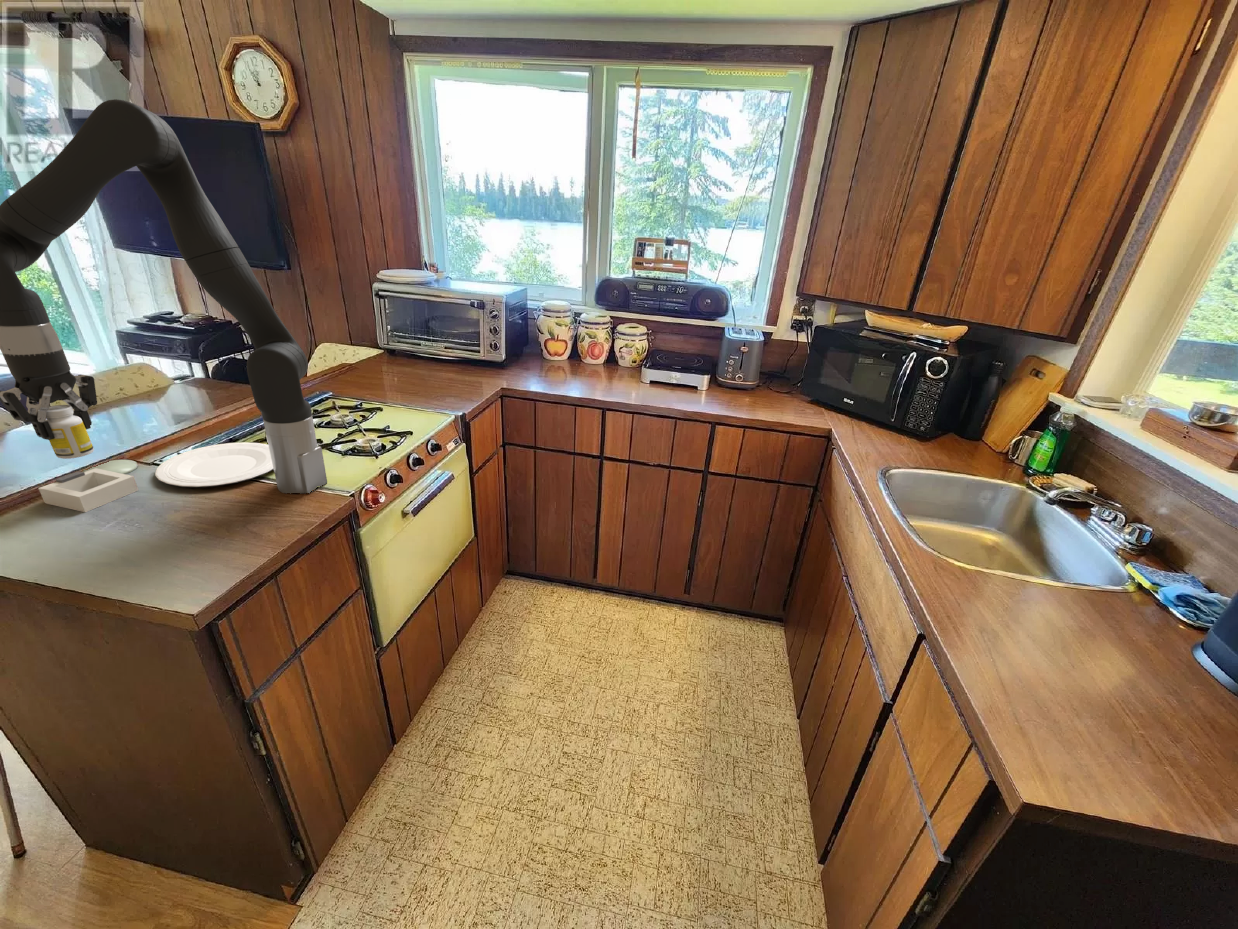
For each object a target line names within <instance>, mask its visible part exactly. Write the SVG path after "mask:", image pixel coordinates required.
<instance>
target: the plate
mask: <svg viewBox="0 0 1238 929" xmlns="http://www.w3.org/2000/svg"><path fill="white" fill-rule="evenodd" d="M271 471H274V469H273V464H272V459H271V455H270V450H269V445H268V444H265V443H260V442H244V441H243V442H227V443H219V444H213V445H207V446H203V447H197V448H195V449H191V450H188V451H185V452H184V451H183V452H182V453H180V454H179V453H178V454H177V455H174V456H172V457H170V458H167V459H166V460H165V461H163V462H162V463H161V464H159V466H157V467H156V469H155V474H154V475H155V477H156V479H157V480H158V481H160V483H161V482H162V483H164V484H166V485H170V486H175V487H181V488H210V487H220V486H227V485H232V484H237V483H241V482H245V481H249V480H252V479H255V478H259V477H261V476H264V475H266V474H268V473H269V472H271Z"/></svg>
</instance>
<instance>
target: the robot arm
mask: <svg viewBox="0 0 1238 929" xmlns="http://www.w3.org/2000/svg"><path fill="white" fill-rule="evenodd" d="M134 167H137V169H138V170H139V172H140V173H141V174H142V176H143V177H144V178H145V179H146V181H147V182H148V184H149V185H150V186H151V188H152V190H153V191H154V193H155V194H156V196H157V197H158V199H159V201H160V203H161V204H162V207H163V209H164V211H165V214H166V217H167V220H168V224H169V227H170V229H171V233H172V236H173V240H174V241H175V244H176V247H177V249H178V251H179V253H180V255H181V258H182V259H183V260H184V262H185V263H186V264H187V266H188V268H189V270H190V271H191V272H192V274H193V276H194V277H195V279H196V280H197V281H198V283H199V285H200V286H201V287H202V288H203V289H204V290H205V292H206V293H207V294H208V295H209V296H210V297H211V298H212V299H213V300H214V301H216V302H217V304H219V305H220V306H221V307H222V308H223V309H225V310H226V311H227V312H228V313H229V314H230V315H231V316H233V317H234V319H235V320H237V322H238V323H239V324H240V325H241V327H242V328H243V330H244V331H245V332H246V334H247V336H248V337H249V339H250V341H251V343H252V345H253V346H254V349H255V350H254V351H252V352H251V353H250V354H249V356H248V358H247V361H246V371H247V372H246V373H247V377H248V381H249V386H250V389H251V393H252V397H253V401H254V403H255V405H256V408H257V409H258V410H259V412H260V414H261V417H262V421H263V426H264V431H265V435H266V440H267V443H268V444H267V445H269V450H270V455H271V459H272V464H273V473H274V477H275V481H276V482H275V483H276V486H277V490H278V491H279V492H281V493H283V494H287V493H290V495H292V494H291V493H300V494H306V493H309V494H311V493H312V492H313V491H312V490H314V489H315V488H316V487H317V486H321V487H323V486H324V485H326V484H327V483H328V479H327V478H328V477H327V472H326V466H325V460H324V455H323V449H322V446H319V445H318V442H317V435H316V430H315V424H314V418H313V413H312V406H311V404H310V402H309V401H307V400H305V397H304V394H303V391H302V386H301V379H302V378H304V376H305V375H306V374H307V371H308V368H309V367H308V366H309V365H308V363H309V362H308V358H307V355H306V354H305V352H304V350H303V349H302V348H301V346H300V345H299V343H298V342H297V340H296V339H295V338H294V337H293V335H292V334H291V332H290V331H289V329H288V328H287V327H286V325H285V324H284V322H283V321H282V319H281V318H280V317H279V316H278V313H277V312H276V311H275V309H274V307H273V305H272V303H271V301H270V299H269V298H268V296H267V295H266V292H265V290H264V289H263V288H262V285H261V283H260V282H259V280H258V279H257V277H256V276H255V274H254V270H253V269H252V267H251V266H250V264H249V263H248V261H247V259H246V257H245V255H244V253H243V252H242V250H241V248H240V247H239V245H238V244H237V242H236V241H235V239H234V237H233V236H232V233H230V231H229V229H228V228H227V227H226V226H227V225H226V224H225V223H224V222H223V220H222V218H221V217H220V215H219V213H218V212H217V211H216V209H215V207H214V206H213V204H212V203H211V201H210V199H209V198H208V197H207V195H206V193H205V191H204V190H203V187H202V186H201V184H200V182H199V181H198V178H197V176H196V174H195V171H194V170H193V167H192V165H191V163H190V161H189V159H188V156H187V155H186V153H185V150H184V148H183V146H182V144H181V142H180V140H179V138H178V136H177V134H176V133H175V131H174V130H173V128H172V127H171V126H170V125H169V124H168V122H166V120H164V119H163V118H162V117H160V116H159V115H157V114H156V113H154V112H152V111H151V110H148V109H146V108H144V107H142V106H140V105H139V104H138V105H137V104H136V103H133V102H131V101H127V100H124V99H108V100H104V101H103V102H101V103H99V104H98V105H97V106H96V107H95V108H94V109H93V111H92V112H91V113H90V115H88V117H87V118H86V120H85V121H84V122H83V124H82V125H81V127H80V128H79V129H78V130H77V132H76V134H75V135H74V136H72V138H71V140H70V141H69V142H68V143H67V144H66V145H65V147H63V149H62V150H61V151H60V152H59V154H58V155H57V156H55V158H54V159H53V160H51V162H50V163H48V165H47V166H45V167H44V168H43V169H42V170H41V171H40V172H39V173H37V174H36V175H35V176H34V177H32V179H30V180H29V181H28V182H26V183H25V184H24V185H22V186H21V187H19V188H18V189H17V190H16V191H15V192H13V193H12V194H11V195H9V196H8V198H6V199H4V201H2V202H1V203H0V351H1V354H2V356H3V358H4V361H5V363H6V365H7V367H8V370H9V372H10V375H11V376H12V377H13V378H14V381H15V382H14V383H15V384H14V387H12V388H10V389H7V390H0V403H2V405H3V407H4V408H5V409H6V411H8V413H9V414H10V415H11V416H12V418H13V419H14V420H15V421H20V422H24V423H25V422H26V423H31V425H32V428H33V429H34V431H35V434H36V435H37V437H38V438H41V439H43V440H47V441H49V440H51V439H54V438H55V437H54V434H53V432H52V430H51V427H50V425H49V423H48V421H45V420H46V419H47V418H46V413H47V410H49V407H50V404H52V403H53V404H54V403H55V402H57V401H63V402H64V403H66V405H70V406H71V407H72V409H73V412H74V413H73V415H75V416H78V417H80V418H81V419H82V421H83V424H84V426H85V428H86V431H88V430H89V429H91V426H92V422H93V421H92V420H91V417H90V414H89V412H88V410H89V408H91V407H92V406H97V404H98V398H97V391H96V383H95V378H94V377H93V376H91V375H87V374H78V375H74V374H72V373H71V371H70V370H71V367H70V364H69V361H68V359H67V357H66V354H65V351H64V349H63V346H62V343H61V341H60V338H59V336H58V333H57V332H56V330H55V329H54V327H53V325H52V323H51V320H50V318H49V315H48V312H47V311H46V308H45V305H44V303H43V301H42V299H41V297H40V295H39V294H38V293H37V292H35V290H32V289H29V288H25V286H24V285H23V283H22V282H21V279H19V276H18V275H17V272H20V271H23V270H25V269H27V268H29V267H31V265H33V264H35V263H36V262H37V261H38V260H39V259H40V258H41V257H42V255H43V254H44V253H45V252H46V251H47V249H48V248H49V247H50V244H51V243H52V242H53V241H54V240H55V239H57V238H58V237H61V235H62V234H64V233H65V232H67V231H68V230H69V229H70V228H71V227H73V226H74V225H75V224H76V223H77V222H78V221H79V220H80V219H82V218H83V217H84V216H85V214H86V213H87V212H88V210H89V209H90V208H91V206H92V204H93V203H94V201H95V200H96V198H97V196H98V195H99V193H100V192H101V191H102V189H104V188H105V187H106V185H107V184H109V183H110V181H112V180H113V179H115V178H116V177H117V176H119V175H121V174H123V173H124V172H126V171H128V170H130V169H133V168H134ZM75 385H76V386H77V387H78V388H77V389H78V393H79V395H78V394H77V393H76V392H75V391H74V390H73V389H74V388H75ZM21 394H22V395H23V396H25V397H26V403H25V406H26V407H25V406H24V404H23V403H22V402H21V400H22V397H21ZM26 408H27V409H26ZM322 485H323V486H322ZM311 491H312V492H311ZM314 491H315V490H314ZM310 492H311V493H310Z"/></svg>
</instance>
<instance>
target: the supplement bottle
mask: <svg viewBox="0 0 1238 929" xmlns="http://www.w3.org/2000/svg"><path fill="white" fill-rule="evenodd" d="M73 411H74V409H72V407H71V406H70V405H68V404H56V405H52V406H50V405H49V410H47V413H46V420H45V421H48V423H49V425H50V427H51V430H52V432H53V434H54V437H55V438H54V439H51V440H48V441H49V443H50V446H51V448H52V450H53V452H54V455H55V456H56V457H57V458H58V459H61V460H62V459H63V460H65V459H66V460H70V459H75V458H83V457H85V456H88V455H90V454H92V453H94V451H95V448H94V445H93V444H92V441H91V437H90V436H89V433H88V430H86V428H85V426H84V424H83V421H82V419H81V418H80V417H78V416H75V415H73V413H74V412H73Z"/></svg>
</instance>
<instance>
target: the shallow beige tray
mask: <svg viewBox="0 0 1238 929" xmlns="http://www.w3.org/2000/svg"><path fill="white" fill-rule="evenodd" d="M38 491H39V493H40V496H41V497H42V499H43V502H44V503H45V504H47V505H52V506H56V507H60V508H64V509H69V510H74V511H78V512H83V513H87V512H89V511H92V510H94V509H97V508H98V507H99V508H100V507H101V506H104V505H106V504H109V503H111V502H114V501H116V500H119V499H121V498H123V497H126V496H128V495H131V494H133V493H135V492H139V487H138V485H137V482H136V479H135V476H134V475H129V474H121V473H116V472H112V471H107V470H102V469H97V468H95V469H92V470H89V471H86V472H83V471H80V470H79V471H75V472H73V473H70V474H67V475H66V474H65V475H64V476H60V477H58V478H55V481H54V482H52V483H49V484H47V485H43V486H41V487H38Z"/></svg>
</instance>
